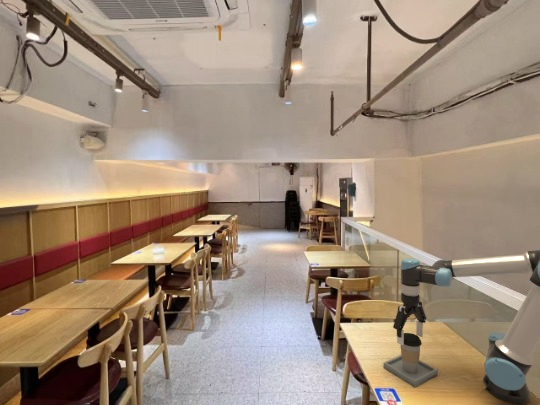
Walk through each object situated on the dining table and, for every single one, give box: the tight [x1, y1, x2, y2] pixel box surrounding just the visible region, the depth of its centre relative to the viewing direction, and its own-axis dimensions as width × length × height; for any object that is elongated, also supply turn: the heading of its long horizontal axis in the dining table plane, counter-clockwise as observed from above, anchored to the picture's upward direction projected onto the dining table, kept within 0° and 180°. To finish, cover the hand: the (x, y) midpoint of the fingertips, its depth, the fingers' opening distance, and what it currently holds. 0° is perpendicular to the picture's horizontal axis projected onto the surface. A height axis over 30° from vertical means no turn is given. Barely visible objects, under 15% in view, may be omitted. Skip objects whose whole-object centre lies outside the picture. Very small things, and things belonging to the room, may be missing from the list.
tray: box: [382, 354, 439, 388], centre depth 135 cm, size 16×16×2 cm
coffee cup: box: [400, 332, 423, 373], centre depth 135 cm, size 9×9×15 cm
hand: (410, 339), depth 134 cm, fingers open, 13 cm apart
